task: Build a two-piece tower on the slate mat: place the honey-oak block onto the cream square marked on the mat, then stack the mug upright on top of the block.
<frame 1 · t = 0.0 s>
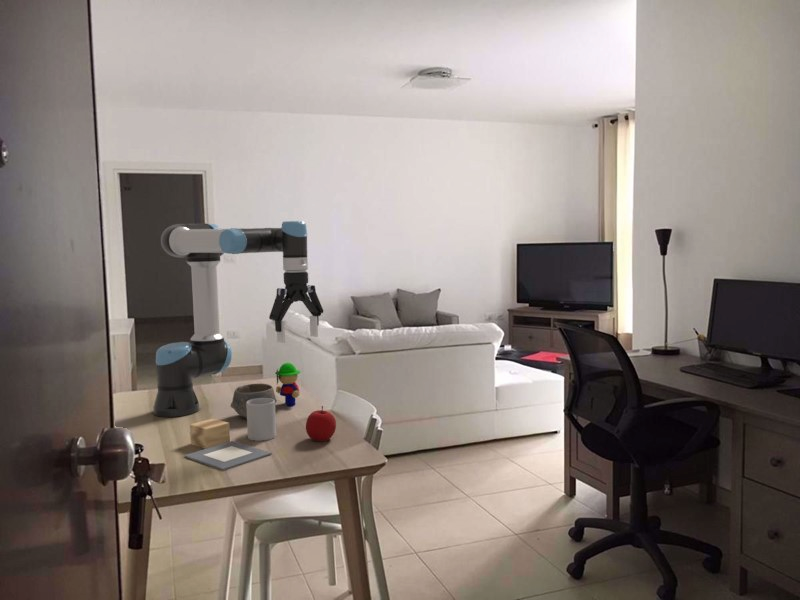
hand: (298, 339, 216), 28 cm above the table, fingers open, 13 cm apart
bowl: (255, 417, 232), on the table
apple: (321, 440, 206), on the table
grey rectangular mat: (228, 455, 192), on the table
oak block: (210, 443, 204), on the table
toy: (288, 404, 248), on the table
mug: (261, 435, 211), on the table
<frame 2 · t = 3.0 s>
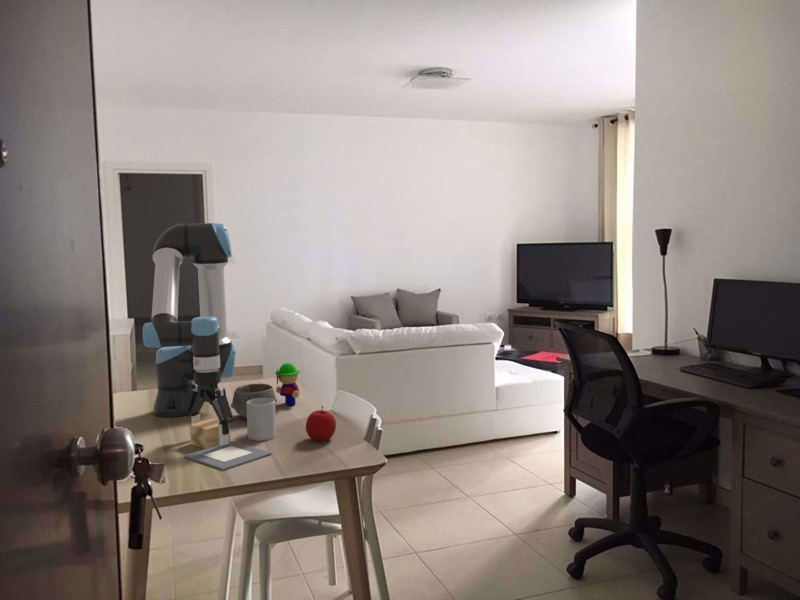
hand: (210, 441, 204), 1 cm above the table, fingers open, 13 cm apart
nothing on the table moved.
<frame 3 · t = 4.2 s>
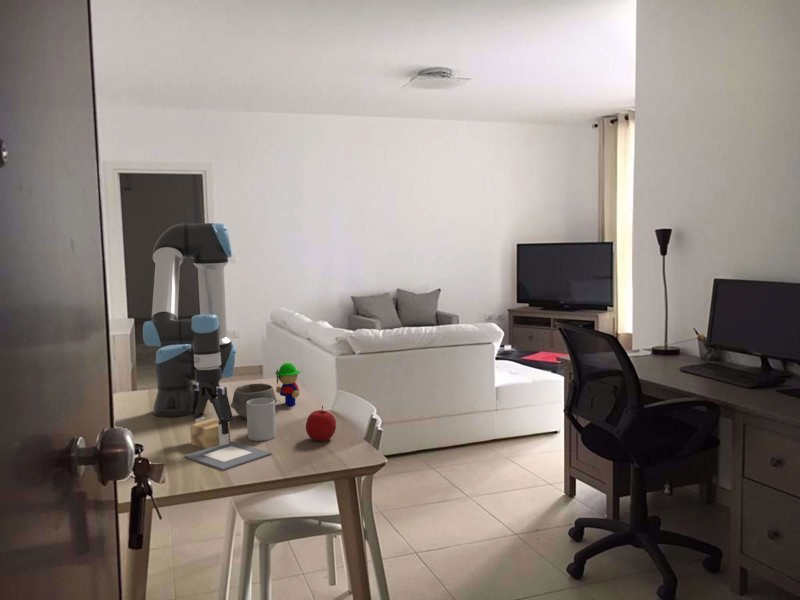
hand: (212, 442, 203), 1 cm above the table, fingers open, 10 cm apart
oak block: (210, 443, 204), on the table, touching gripper
everything else where it was.
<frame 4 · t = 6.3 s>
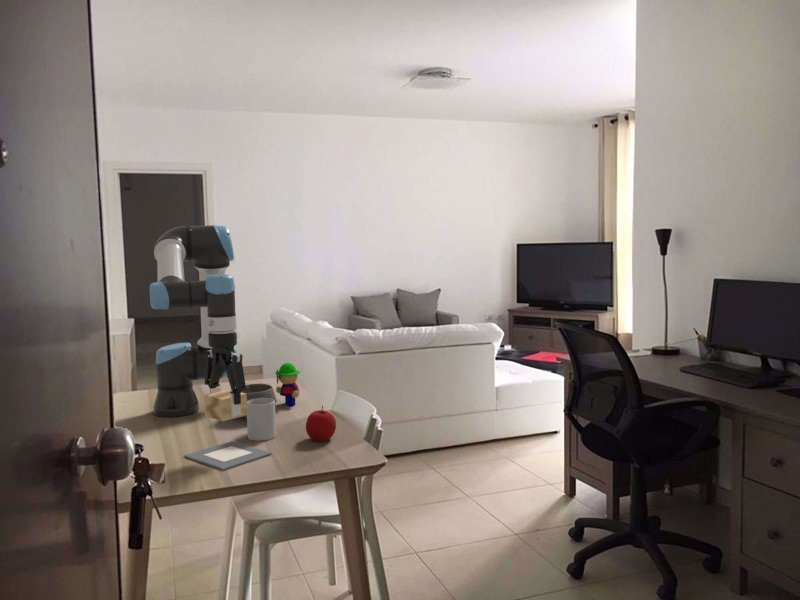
hand: (226, 413, 191), 12 cm above the table, fingers closed on oak block, 8 cm apart
oak block: (226, 415, 191), point 11 cm above the table, touching gripper
everything else where it was.
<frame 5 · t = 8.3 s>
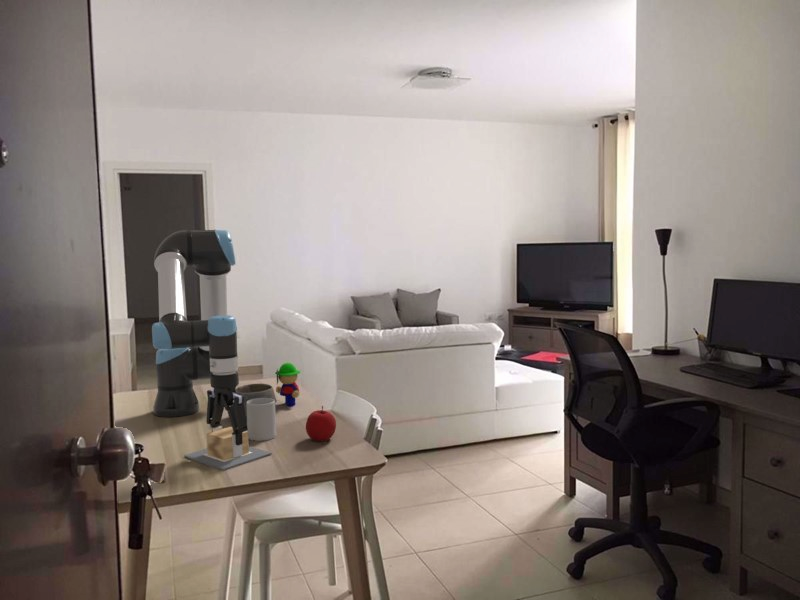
hand: (227, 452, 192), 1 cm above the table, fingers closed on grey rectangular mat, oak block, 8 cm apart
oak block: (228, 453, 192), point 1 cm above the table, touching grey rectangular mat, gripper
everything else where it was.
when the fingers open (1 cm above the table, at t = 8.7 s): oak block stays where it is, resting on grey rectangular mat.
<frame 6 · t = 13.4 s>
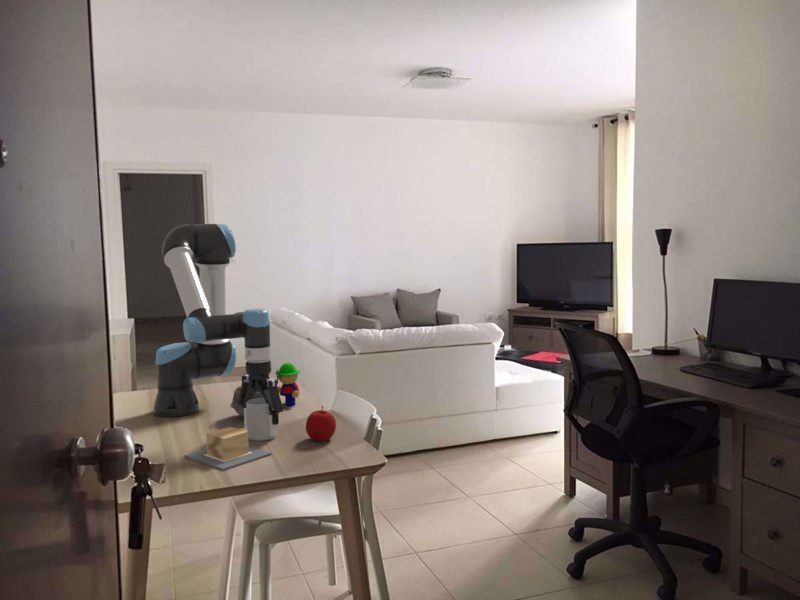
hand: (261, 431, 211), 1 cm above the table, fingers open, 11 cm apart
oak block: (228, 453, 192), point 1 cm above the table, touching grey rectangular mat
mug: (261, 435, 211), on the table, touching gripper
everything else where it was.
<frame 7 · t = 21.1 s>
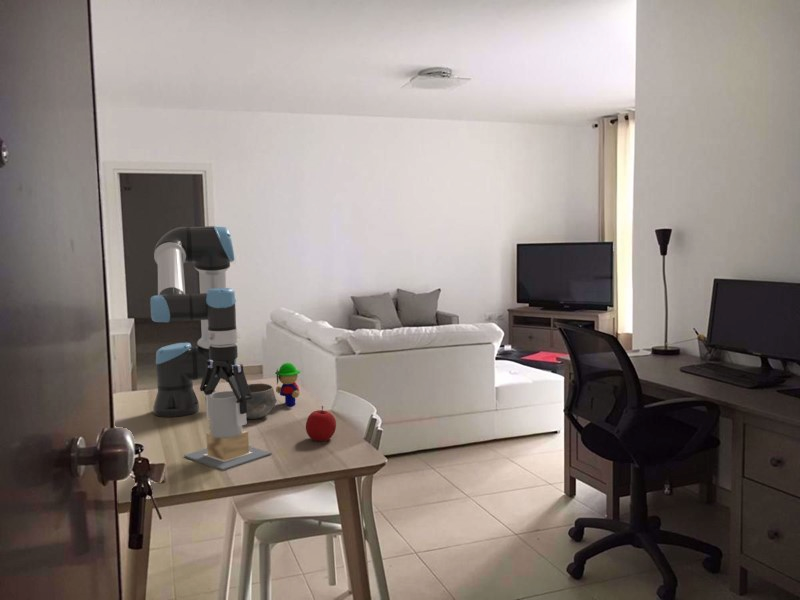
hand: (226, 420, 191), 10 cm above the table, fingers open, 13 cm apart
oak block: (228, 453, 192), point 1 cm above the table, touching grey rectangular mat, mug
mug: (226, 432, 192), point 6 cm above the table, touching oak block
everything else where it was.
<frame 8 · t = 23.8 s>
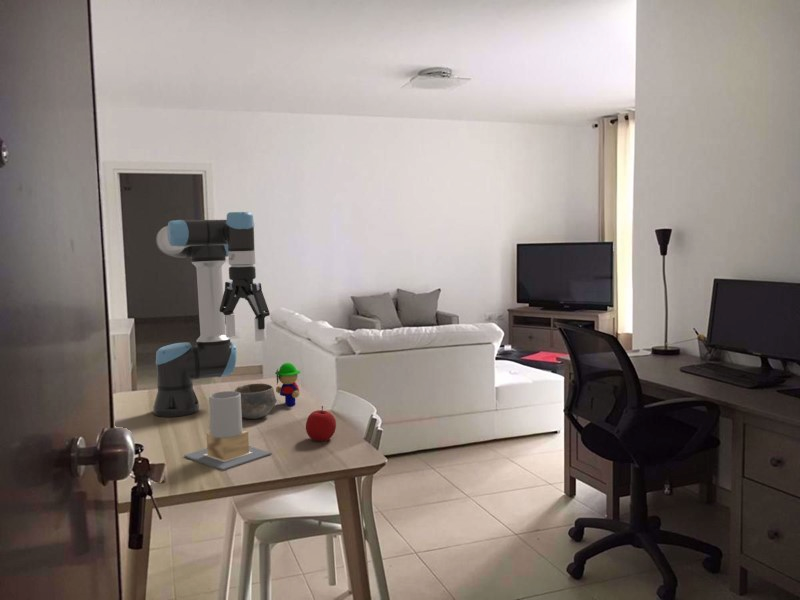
hand: (245, 338, 202), 31 cm above the table, fingers open, 13 cm apart
nothing on the table moved.
at the end: oak block 0.1 cm off-centre on the grey rectangular mat, point 0.6 cm above the grey rectangular mat's base; mug 0.7 cm off-centre on the oak block, point 5.8 cm above the oak block's base; mug tilted 0° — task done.
